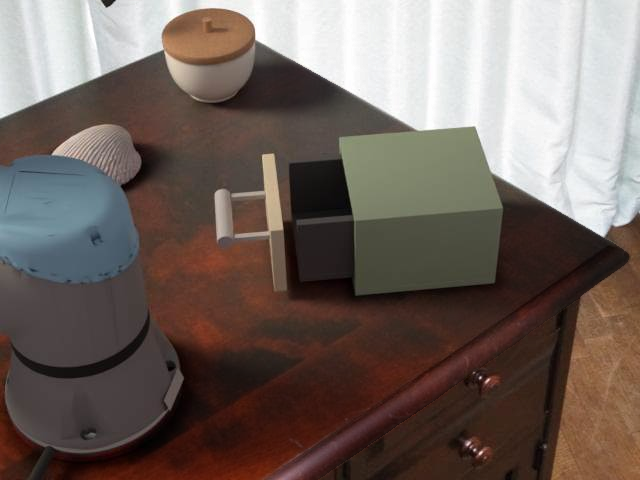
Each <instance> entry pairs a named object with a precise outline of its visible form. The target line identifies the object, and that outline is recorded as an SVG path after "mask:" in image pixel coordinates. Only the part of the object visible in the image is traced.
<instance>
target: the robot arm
mask: <svg viewBox="0 0 640 480" xmlns="http://www.w3.org/2000/svg"><path fill="white" fill-rule="evenodd" d="M116 1H117V0H100V2H101V3H102V5H103V6H104V7H105V9H108V8H109V7H111V6H112V5H113V4H114V3H115V2H116ZM129 203H130V202H129V200H128V198H127V196H126V193H125V191H124V190H123V188H122V187H121V186H120V185H119V184H118V183H117V182H116V181H115V180H114V179H113V178H111V177H108V176H107V175H106V173H105V172H104V171H103V170H102V169H100V168H98V167H96V166H94V165H92V164H90V163H88V162H85V161H83V160H80V159H76V158H72V157H66V156H58V155H52V154H37V155H35V154H34V155H30V156H28V155H27V156H23V157H19V158H15V159H12V160H11V162H10V166H6V165H2V164H1V165H0V336H2V335H3V336H4V335H5V336H8V339H9V342H10V346H11V353H10V359H9V360H10V361H9V368H8V372H7V374H6V375H7V376H6V380H5V385H4V386H5V387H4V402H5V406H6V410H7V413H8V417H9V419H10V422H11V425H12V427H13V429H14V431H15V432H16V434H17V435H18V437H19V438H20V439H21V440H22V441H23V442H24V443H25V444H26V445H27V446H29V447H30V448H31V449H33V450H34V451H36V452H38V453H40V454H41V455H40V457H39V458H38V460H37V462H36V463H35V465H34V467H33V468H32V471H31V472H30V473H29V476H28V477H27V478H26V480H41V479H42V478H43V476H44V474H45V472H46V471H47V469H48V467H49V465H50V463H51V462H52V460H53V459H56V460H60V461H64V462H65V461H66V462H74V463H75V462H76V463H85V462H87V463H89V462H98V461H103V460H108V459H113V458H116V457H119V456H122V455H125V454H127V453H130V452H131V451H134V450H136V449H137V448H139V447H141V446H143V445H144V444H146V443H148V442H149V441H150V440H152V439H153V438H154V437H155V436H157V435H158V434H159V433H160V432H161V431H162V430H163V429H164V428H165V427H166V426H167V424H168V423H169V422H170V420H171V419H172V417H173V416H174V414H175V412H176V411H177V409H178V406H179V405H180V402H181V398H182V392H183V381H184V379H185V377H184V375H183V373H182V370H181V364H180V360H179V356H178V354H177V351H176V349H175V348H174V346H173V344H172V343H171V341H170V340H169V338H167V336H166V334H165V333H164V332H163V330H162V329H161V328H160V326H159V324H157V322H156V321H155V319H154V318H153V316H152V315H151V314H150V308H149V302H148V296H147V289H146V283H145V278H144V273H143V266H142V260H141V255H140V254H141V253H140V249H139V247H140V234H139V232H138V229H137V225H136V223H135V222H134V218H133V216H132V212H131V207H130V204H129Z"/></svg>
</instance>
